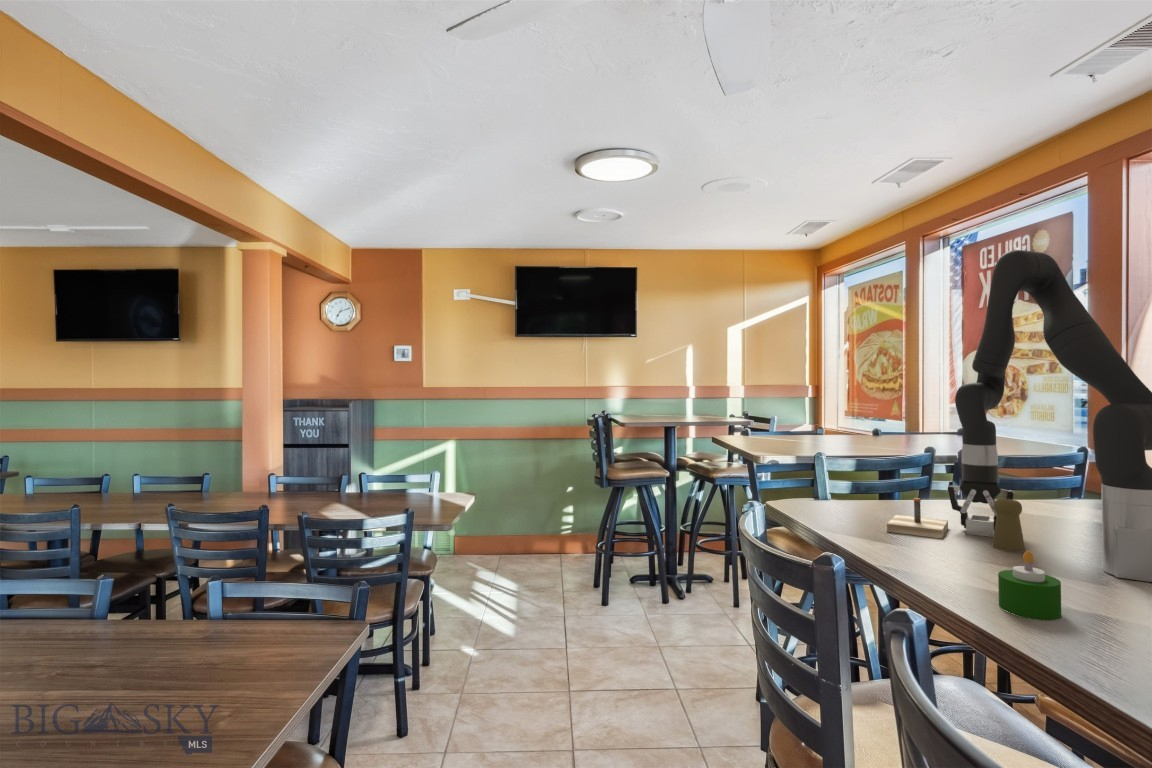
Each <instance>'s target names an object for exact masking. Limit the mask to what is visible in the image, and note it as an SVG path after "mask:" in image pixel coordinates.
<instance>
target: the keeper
mask: <svg viewBox="0 0 1152 768" xmlns="http://www.w3.org/2000/svg"><path fill="white" fill-rule="evenodd" d="M913 511H914V512H913V513H914V514H913V516H909V515H900V514H895V515H894V516H893V517H892V518H891V519H890V520H889V521H888V522H887V523H886V532H889V533H896V534H904V535H911V536H912V535H913V536H919V537H920V536H921V537H929V538H936V539H943V537H944V536H945V534H946V532H947V531H948V528H949V520H947V519H946V520H945V519H938V518H928V517H922V516H921V498H919V497H913Z"/></svg>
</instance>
